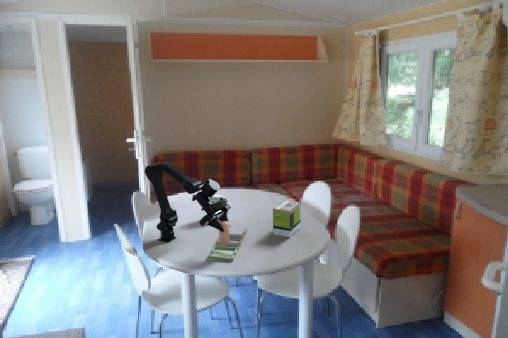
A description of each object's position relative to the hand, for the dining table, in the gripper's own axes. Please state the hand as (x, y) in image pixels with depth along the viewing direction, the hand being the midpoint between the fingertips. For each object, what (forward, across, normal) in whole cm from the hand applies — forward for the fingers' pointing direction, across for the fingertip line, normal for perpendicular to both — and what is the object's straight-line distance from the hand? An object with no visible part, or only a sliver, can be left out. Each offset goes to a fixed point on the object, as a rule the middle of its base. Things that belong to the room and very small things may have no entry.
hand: (226, 229), depth 175 cm
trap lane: (+5, +10, +13) cm, 17 cm away
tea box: (+18, +38, 0) cm, 42 cm away
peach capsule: (+4, 0, +6) cm, 7 cm away
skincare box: (-12, +34, +30) cm, 47 cm away
